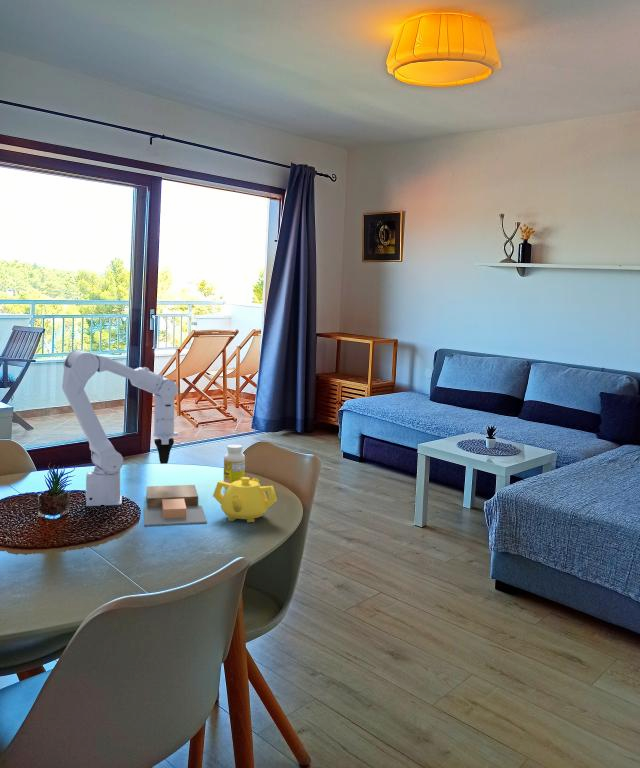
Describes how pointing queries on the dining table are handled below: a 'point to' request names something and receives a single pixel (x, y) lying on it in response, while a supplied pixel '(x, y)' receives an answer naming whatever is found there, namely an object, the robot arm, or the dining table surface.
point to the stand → (171, 495)
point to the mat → (156, 518)
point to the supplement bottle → (234, 464)
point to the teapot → (244, 498)
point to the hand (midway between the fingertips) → (163, 463)
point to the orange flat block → (173, 508)
